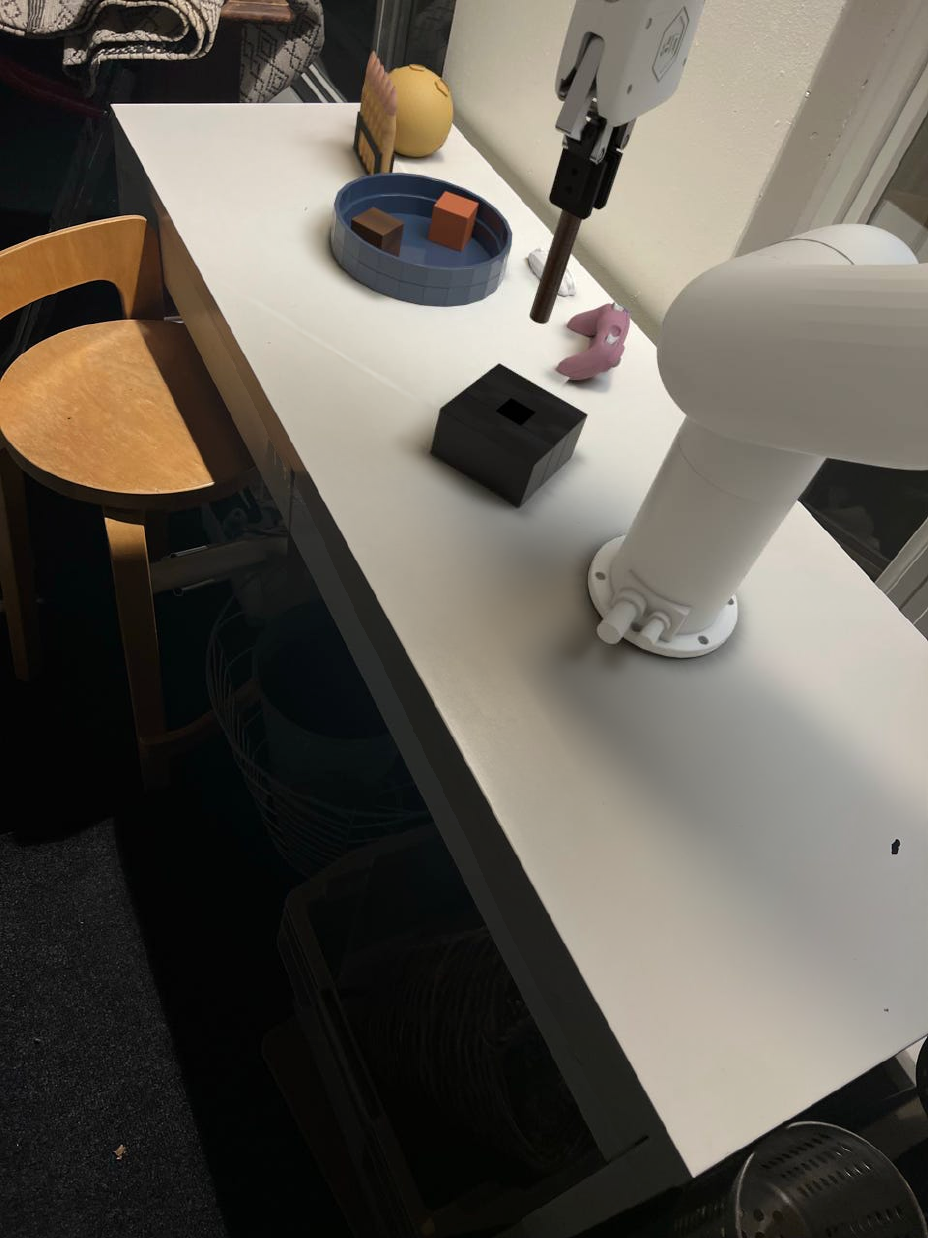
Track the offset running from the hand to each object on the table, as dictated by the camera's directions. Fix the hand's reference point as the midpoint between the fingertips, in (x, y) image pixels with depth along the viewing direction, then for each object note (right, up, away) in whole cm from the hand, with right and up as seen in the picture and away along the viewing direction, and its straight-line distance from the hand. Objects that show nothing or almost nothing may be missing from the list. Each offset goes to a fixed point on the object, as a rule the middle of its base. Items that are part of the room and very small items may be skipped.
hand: (576, 203), depth 64 cm
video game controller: (+5, -3, +30) cm, 30 cm away
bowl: (-13, +10, +35) cm, 39 cm away
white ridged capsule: (+1, +8, +38) cm, 39 cm away
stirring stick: (-2, -6, +7) cm, 9 cm away
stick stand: (-5, -15, +18) cm, 23 cm away
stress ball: (-15, +30, +51) cm, 61 cm away
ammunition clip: (-19, +24, +45) cm, 55 cm away
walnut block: (-18, +9, +32) cm, 38 cm away
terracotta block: (-10, +14, +38) cm, 41 cm away
